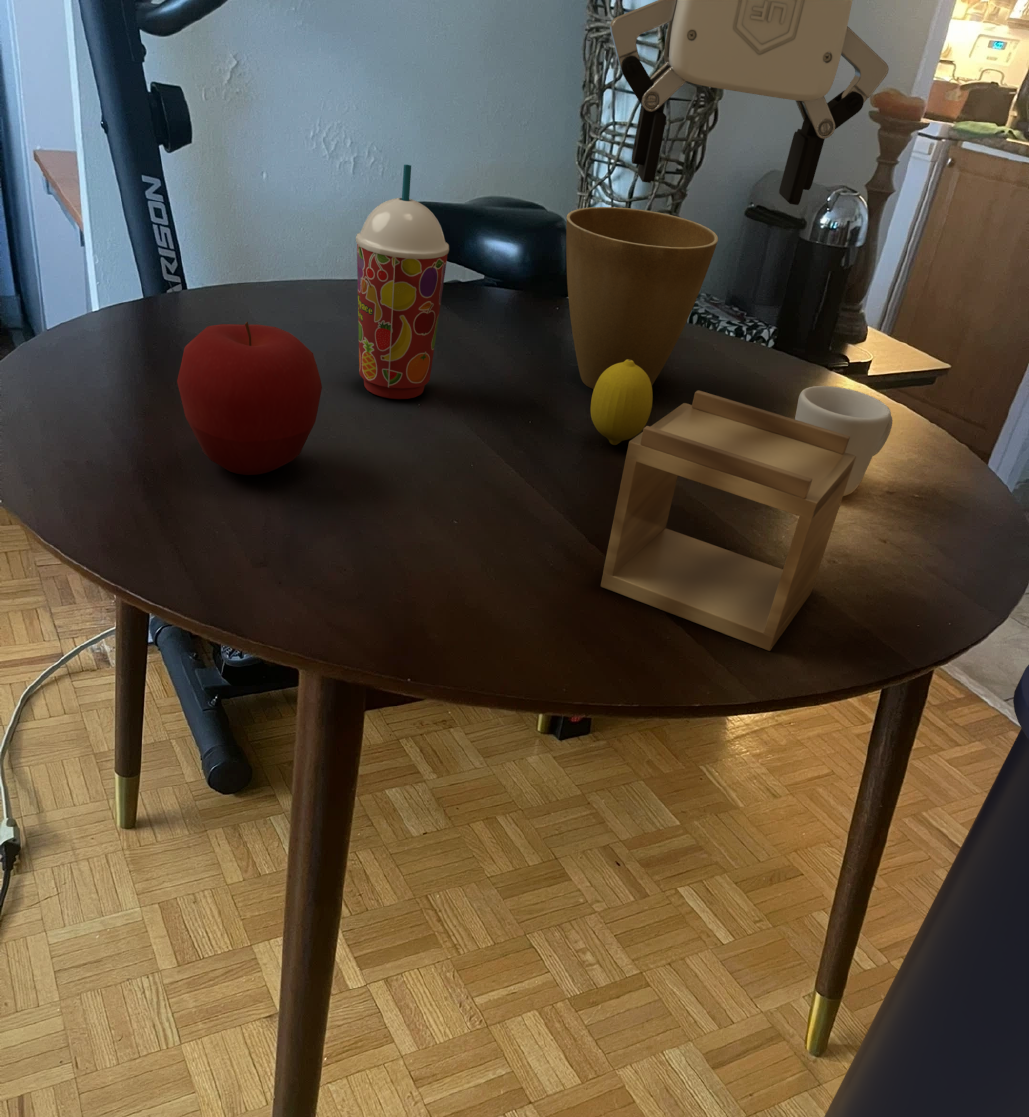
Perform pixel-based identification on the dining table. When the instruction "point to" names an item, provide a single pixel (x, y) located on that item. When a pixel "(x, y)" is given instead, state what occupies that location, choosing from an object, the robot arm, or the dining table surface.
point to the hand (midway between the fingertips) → (717, 189)
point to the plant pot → (631, 285)
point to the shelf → (739, 468)
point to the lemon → (621, 401)
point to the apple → (249, 395)
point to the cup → (848, 422)
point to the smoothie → (399, 295)
